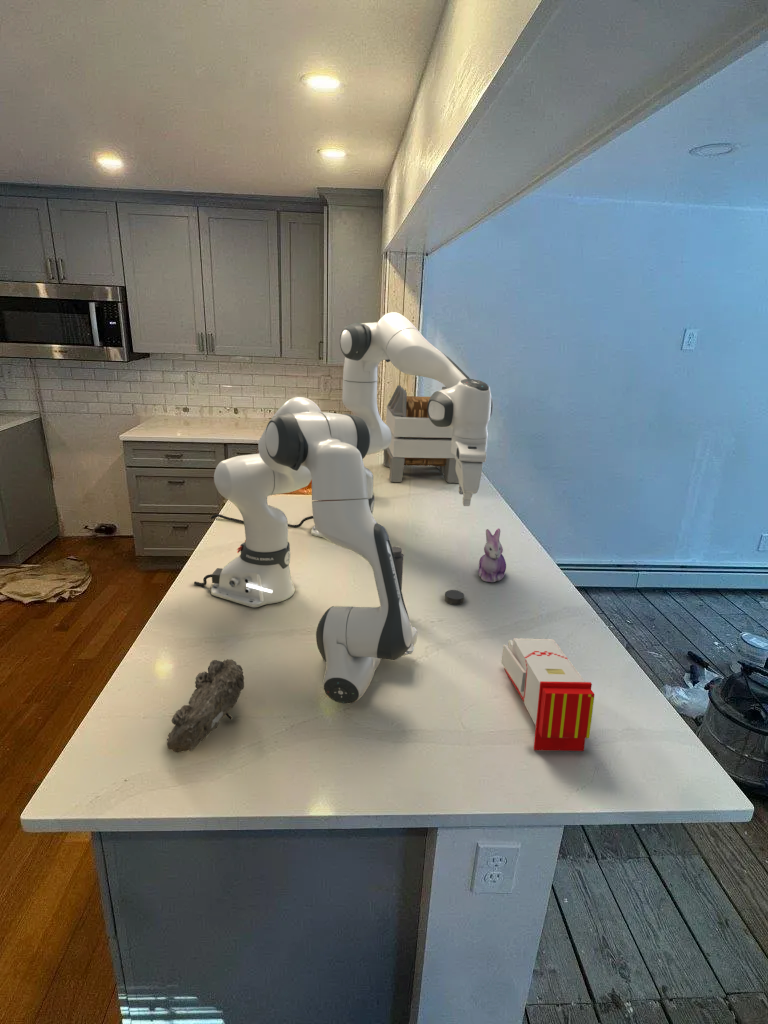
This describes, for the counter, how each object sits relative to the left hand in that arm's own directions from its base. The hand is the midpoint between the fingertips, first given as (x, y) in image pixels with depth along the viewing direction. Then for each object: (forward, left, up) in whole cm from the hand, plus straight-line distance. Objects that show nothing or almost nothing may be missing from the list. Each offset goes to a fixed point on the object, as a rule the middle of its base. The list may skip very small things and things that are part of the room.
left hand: (380, 616), depth 135 cm
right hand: (+15, +24, +24) cm, 37 cm away
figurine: (+24, +43, -6) cm, 49 cm away
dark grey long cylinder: (0, +13, -6) cm, 14 cm away
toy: (+37, -14, -6) cm, 40 cm away
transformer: (-18, +147, -6) cm, 148 cm away
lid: (+15, +24, -4) cm, 29 cm away
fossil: (-23, -37, -6) cm, 44 cm away
